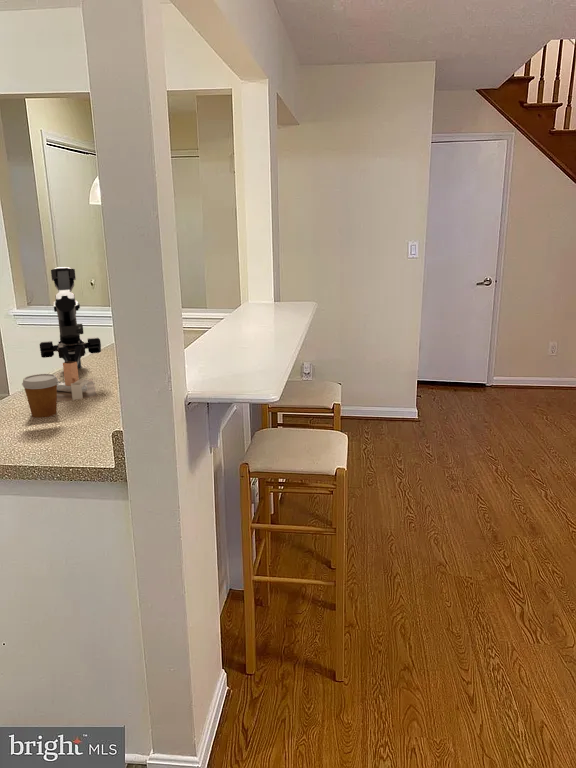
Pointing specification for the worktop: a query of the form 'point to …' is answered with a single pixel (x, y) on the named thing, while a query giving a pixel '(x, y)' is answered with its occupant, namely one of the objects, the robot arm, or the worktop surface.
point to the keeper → (78, 388)
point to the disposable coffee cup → (41, 394)
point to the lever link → (69, 377)
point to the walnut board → (88, 394)
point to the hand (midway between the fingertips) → (73, 369)
